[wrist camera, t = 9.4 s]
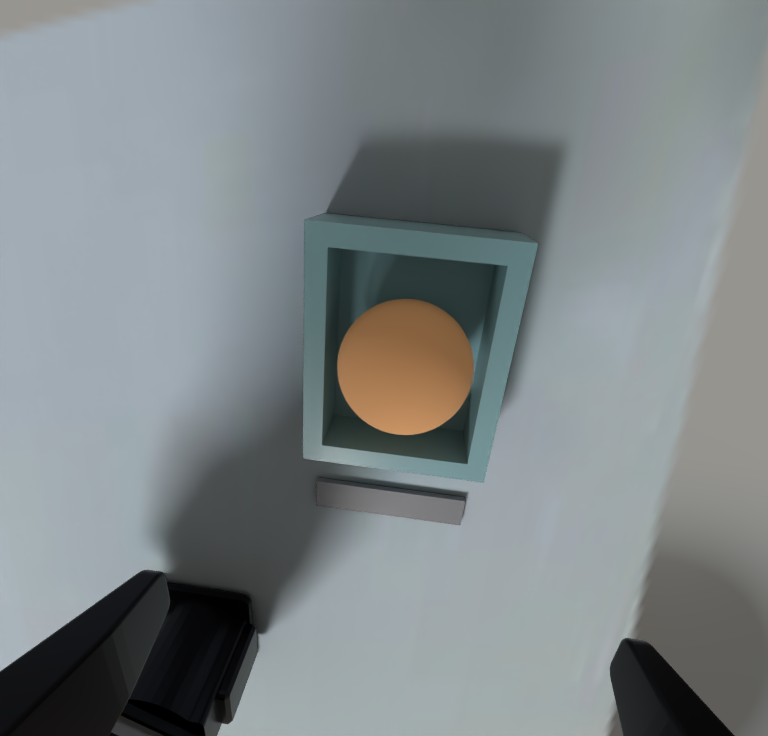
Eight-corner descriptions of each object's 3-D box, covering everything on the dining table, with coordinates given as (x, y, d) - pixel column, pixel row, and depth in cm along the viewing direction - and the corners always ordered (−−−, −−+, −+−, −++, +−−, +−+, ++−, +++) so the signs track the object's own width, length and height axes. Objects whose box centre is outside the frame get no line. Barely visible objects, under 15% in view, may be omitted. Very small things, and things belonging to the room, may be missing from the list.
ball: (346, 388, 19) (322, 454, 15) (352, 278, 17) (326, 314, 13) (457, 401, 19) (467, 471, 14) (476, 291, 17) (496, 332, 12)
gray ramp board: (317, 501, 23) (316, 505, 22) (318, 477, 22) (316, 481, 22) (459, 521, 22) (460, 525, 22) (464, 497, 22) (465, 501, 21)
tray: (319, 421, 21) (302, 458, 18) (325, 212, 17) (304, 219, 14) (476, 441, 20) (483, 482, 18) (520, 232, 16) (538, 243, 14)
